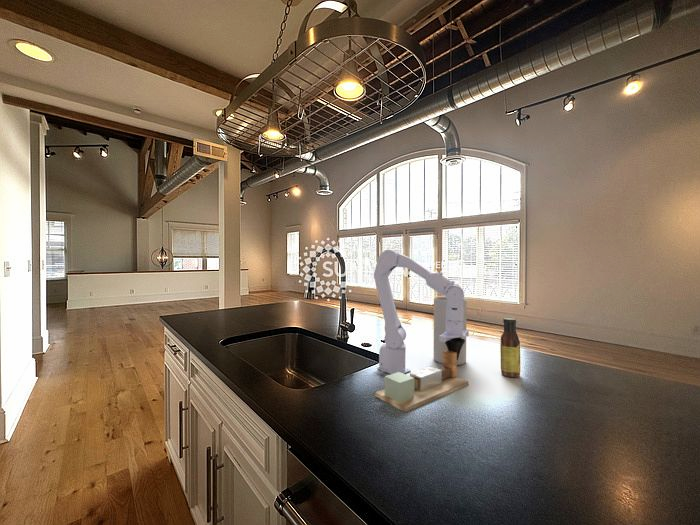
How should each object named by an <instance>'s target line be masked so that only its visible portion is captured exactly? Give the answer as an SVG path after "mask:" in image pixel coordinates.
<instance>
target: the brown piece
mask: <svg viewBox="0 0 700 525" xmlns="http://www.w3.org/2000/svg"><path fill="white" fill-rule="evenodd" d="M457 368H458V365H457V353H456V352H452V351H449V350H444V351H443V364H442V366H441V367H439V368H437V369H440V370H442V379H443V378H445V377H448V376H449V377H452V378H454V377H457V374H458V373H457V371H458V369H457ZM413 378H414V388H419V379H418V378H415V377H413Z"/></svg>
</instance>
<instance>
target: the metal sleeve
mask: <svg viewBox="0 0 700 525" xmlns="http://www.w3.org/2000/svg"><path fill="white" fill-rule="evenodd" d="M409 376H411V377H415V378H418V379H419V388H414V389H415V390H417V391H420V392H423V391H425V390H428V389H430V388H433V387H436V386H438V385H441V384H442V370H440V369H438V368H436V367H433V366H431V365H430V366H428V367H427V366H426V367H425V368H421V369H418V370H415V371H413V372H412V371H411V372H409Z"/></svg>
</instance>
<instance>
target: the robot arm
mask: <svg viewBox="0 0 700 525" xmlns="http://www.w3.org/2000/svg"><path fill="white" fill-rule="evenodd" d="M376 262H377V263H376V265H375V268H374V272H373V278H374V283H375V288H376V291H377V294H378V299H379V303H380V307H381V311H382V312H381V313H382V315H383V319H384V320H383V321H384V333H385V335H384V343H383V344H382V345H381V346H380V348H379V352H378V355H379V357H378V361H379V362H378V366H377V370H380V371H382V372H385V373H387V374H388V375H391V374H394V373H397V372H401V373H403V374H407V373H411V372H412V371H411V369H409V368H406V353H407V352H406V350H407V349H406V346H407V345H406V343H405V342H404V341H405V340H406V337H407V333H406V330H405V329H404V327H403V325H402V323H401V320H400V319H399V316H398V313H397V309H396V308H397V307H396V305H395V303H396V302H395V301H394V295H393V292H392V288H391V284H390V280H389V279H390V278H389V276H390V275H391V273H392V272H393V270H394V269H396V268H406V269H408V270H409V271H411V272H413V273H414V274H415V275H418V276H419V277H421V278H422V279H424V280H425V284H426V286H428V287H429V288H431V289H432V290H434V291H435V292H437V293H438V294H439V295H441V296H444V297H446V299H447V306H446V332H445V333H443V334H442V335H439V341H440V342H445V344H446V346H447V348H448V350H449V351H452V352H456V353H457V360H458V358H459V354H460V351H461V348H462V346H463V344H464V343H465V339H461V337H462V338H464V337H466V338H467V337H469V336H470V335H469V332H470V331H469V330H467V329H466V330H463V313H464V308H463V298H464V297H465V293H464V290H463V288H462V287H461V286H460V285H459V284H457V283H456V282H455V281H454V280H450V279H448V278H447V277H445V276H444V273H443V272H441V271H439V272H437V271H432V272H431V271H430V270H428V269H426V268H425V267H424V266H422V265H420V263H418V262H417V261H415V260H414V259H412V258H411V257H410V256H407V255H404V254H403V253H400V251H397V250H393V249H385V250H383V251H382V252H380V255H378V257H377V260H376ZM464 299H465V298H464Z"/></svg>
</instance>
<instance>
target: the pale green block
mask: <svg viewBox="0 0 700 525" xmlns="http://www.w3.org/2000/svg"><path fill="white" fill-rule="evenodd" d="M384 389H385V395H386V396H388V397H390V398H392V399H394V400H396V401H398V402H402V401H405V400H407V399H410V398H412V397H414V378H413V377H411V376H410V375H408V374H407V373H404V374H403V373H401V372H397V373H394V374H387V375H385V376H384Z"/></svg>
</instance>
